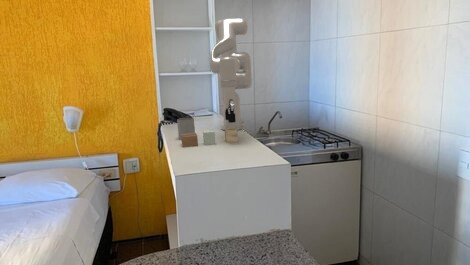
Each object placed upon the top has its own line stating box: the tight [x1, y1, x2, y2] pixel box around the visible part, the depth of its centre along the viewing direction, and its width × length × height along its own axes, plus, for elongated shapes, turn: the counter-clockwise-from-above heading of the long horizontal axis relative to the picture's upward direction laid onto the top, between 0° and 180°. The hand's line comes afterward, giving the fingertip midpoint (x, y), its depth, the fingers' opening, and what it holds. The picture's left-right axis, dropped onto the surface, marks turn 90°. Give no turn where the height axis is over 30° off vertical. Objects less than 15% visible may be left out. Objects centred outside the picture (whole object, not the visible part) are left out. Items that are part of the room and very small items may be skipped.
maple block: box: [224, 128, 238, 144], centre depth 176 cm, size 5×5×6 cm
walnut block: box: [181, 132, 199, 148], centre depth 174 cm, size 7×7×5 cm
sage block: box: [202, 129, 216, 146], centre depth 174 cm, size 5×5×6 cm
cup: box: [177, 117, 196, 141], centre depth 189 cm, size 8×8×10 cm
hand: (230, 121), depth 174 cm, fingers open, 9 cm apart
